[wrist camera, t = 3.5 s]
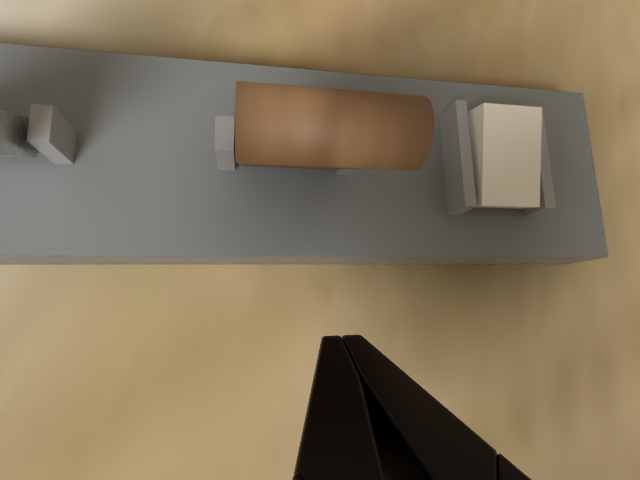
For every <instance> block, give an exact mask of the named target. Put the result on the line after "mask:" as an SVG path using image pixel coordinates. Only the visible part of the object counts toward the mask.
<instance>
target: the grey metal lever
mask: <svg viewBox="0 0 640 480" xmlns="http://www.w3.org/2000/svg"><path fill="white" fill-rule="evenodd" d="M28 126H29V117H25V116H21V115H18V114H14V113H10V112H6V111H2V110H0V156H18V157H38V153H41V152H40V151H38V150H37V149H36V148H35V147H33V146H32V145H31V144H30V143H29V142H27V135H28Z"/></svg>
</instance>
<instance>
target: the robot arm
mask: <svg viewBox="0 0 640 480" xmlns="http://www.w3.org/2000/svg"><path fill="white" fill-rule="evenodd" d="M292 480H531V479H530V478H529V477H528V476H526V475H525V474H524V473H523V472H522V471H520V470H519V469H518V468H517V467H516V466H514V465H513V464H512V463H511V462H510V461H509V460H507V459H506V458H505V457H504V456H503V455H501V454H498V455H497V452H496V450H495V449H493V448H492V447H491V446H490V445H489V444H488V443H486V442H485V441H484V440H483V439H482V438H481V437H479V436H478V435H477V434H476V433H475V432H474V431H472V430H471V429H470V428H469V427H468V426H467V425H465V424H464V423H463V422H462V421H461V420H460V419H458V418H457V417H456V416H455V415H454V414H453V413H451V412H450V411H449V410H448V409H447V408H445V407H444V406H443V405H442V404H441V403H440V402H438V401H437V400H436V399H435V398H434V397H433V396H431V395H430V394H429V393H428V392H427V391H426V390H424V389H423V388H422V387H421V386H420V385H419V384H417V383H416V382H415V381H414V380H413V379H412V378H410V377H409V376H408V375H407V374H406V373H405V372H403V371H402V370H401V369H400V368H399V367H398V366H396V365H395V364H394V363H393V362H392V361H390V360H389V359H388V358H387V357H386V356H385V355H383V354H382V353H381V352H380V351H379V350H378V349H376V348H375V347H374V346H373V345H372V344H371V343H369V342H368V341H367V340H366V339H365V338H364V337H362V336H361V335H344V336H343V337H342V338H341V337H340V336H324V337H323V338H322V340H321V344H320V349H319V354H318V359H317V364H316V369H315V374H314V379H313V383H312V388H311V393H310V398H309V403H308V408H307V413H306V418H305V422H304V427H303V432H302V437H301V442H300V447H299V452H298V457H297V461H296V466H295V471H294V476H293V479H292Z"/></svg>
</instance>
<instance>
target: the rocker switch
mask: <svg viewBox="0 0 640 480" xmlns="http://www.w3.org/2000/svg"><path fill="white" fill-rule="evenodd" d="M468 123H469V133H470V143H471V153H472V163H473V173H474V183H475V194H476V204H477V206H476V207H478V208H516V209H523V208H535V207H540V175H541V133H542V107H531V106H518V105H506V104H493V103H483V104H481V105H479V106H477V107H475V108H473V109H472V110H470V111H469V112H468Z"/></svg>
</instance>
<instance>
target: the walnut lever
mask: <svg viewBox="0 0 640 480" xmlns="http://www.w3.org/2000/svg"><path fill="white" fill-rule="evenodd" d="M433 136H434V111H433V107H432V104H431V101H430V100H429V98H428V97H426V96H422V95H410V94H397V93H384V92H371V91H359V90H346V89H333V88H321V87H308V86H295V85H282V84H270V83H257V82H244V81H236V95H235V157H236V163H239V164H240V165H241V166H255V167H279V168H303V169H327V170H340V169H382V170H405V171H417V170H419V169H420V168H422V166H423V165H424V164H425V162H426V160H427V158H428V156H429V153H430V150H431V146H432V142H433Z"/></svg>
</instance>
